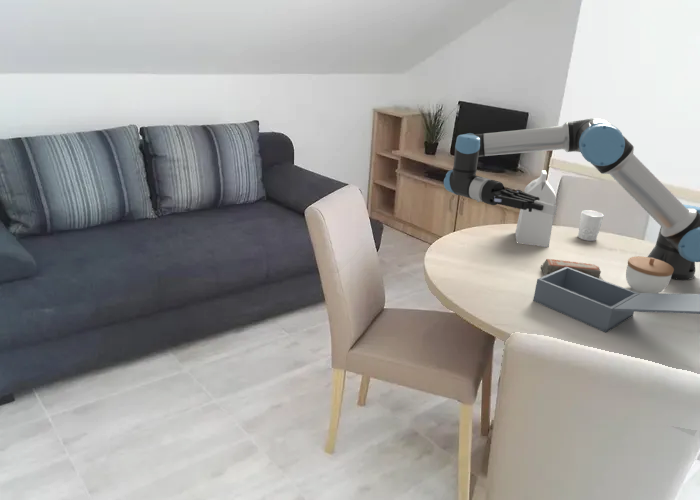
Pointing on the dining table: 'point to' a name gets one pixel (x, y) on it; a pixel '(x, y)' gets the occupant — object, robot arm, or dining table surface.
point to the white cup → (590, 225)
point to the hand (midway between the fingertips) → (555, 210)
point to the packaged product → (555, 265)
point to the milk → (536, 215)
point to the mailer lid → (662, 303)
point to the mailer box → (583, 298)
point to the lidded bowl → (648, 274)
